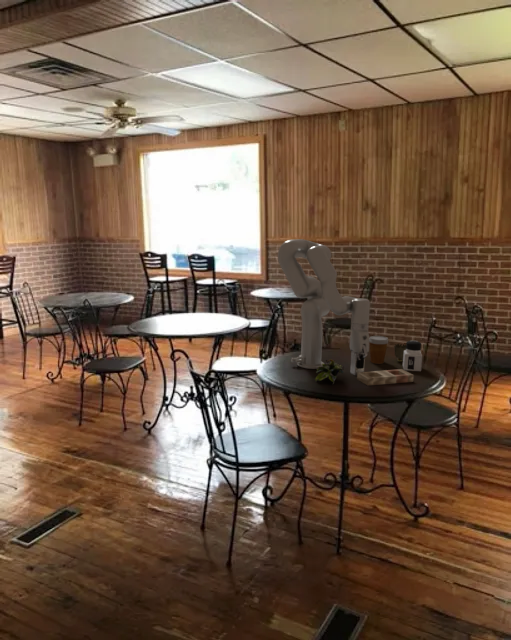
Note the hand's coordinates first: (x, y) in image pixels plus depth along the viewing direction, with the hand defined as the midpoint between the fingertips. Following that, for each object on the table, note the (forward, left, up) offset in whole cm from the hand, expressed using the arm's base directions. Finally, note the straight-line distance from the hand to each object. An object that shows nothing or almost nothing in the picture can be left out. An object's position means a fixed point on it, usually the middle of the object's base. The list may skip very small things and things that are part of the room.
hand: (357, 366), depth 237 cm
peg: (0, 0, -3) cm, 3 cm away
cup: (+31, +13, -4) cm, 34 cm away
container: (+29, +1, -4) cm, 29 cm away
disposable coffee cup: (+19, +15, -4) cm, 24 cm away
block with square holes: (+7, -12, -3) cm, 14 cm away
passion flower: (-17, -8, -4) cm, 19 cm away
